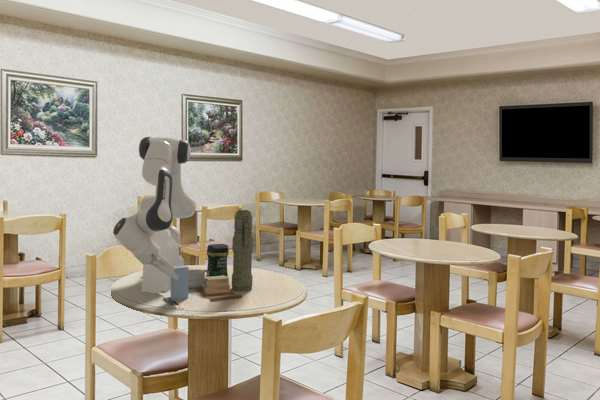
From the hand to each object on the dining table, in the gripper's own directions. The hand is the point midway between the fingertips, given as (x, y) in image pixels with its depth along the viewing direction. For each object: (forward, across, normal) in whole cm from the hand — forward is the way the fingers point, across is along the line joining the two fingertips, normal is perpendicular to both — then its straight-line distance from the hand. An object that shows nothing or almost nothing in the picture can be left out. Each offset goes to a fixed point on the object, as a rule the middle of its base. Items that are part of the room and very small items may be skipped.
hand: (173, 276), depth 207 cm
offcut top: (+18, +4, -10) cm, 21 cm away
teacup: (+18, +17, -4) cm, 25 cm away
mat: (+9, 0, +5) cm, 10 cm away
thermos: (+30, +4, -15) cm, 33 cm away
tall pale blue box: (+9, 0, +5) cm, 10 cm away
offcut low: (+20, +4, -8) cm, 22 cm away
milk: (+8, +21, +6) cm, 24 cm away
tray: (+20, -1, -6) cm, 21 cm away
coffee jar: (+26, +20, -12) cm, 35 cm away
